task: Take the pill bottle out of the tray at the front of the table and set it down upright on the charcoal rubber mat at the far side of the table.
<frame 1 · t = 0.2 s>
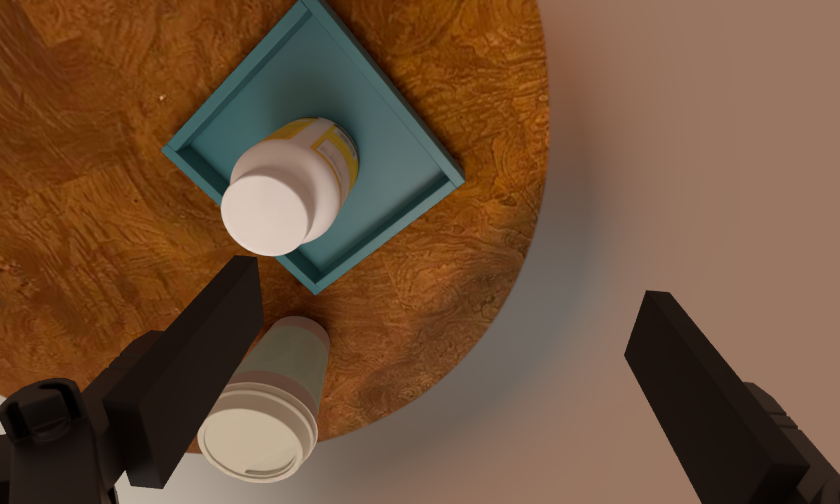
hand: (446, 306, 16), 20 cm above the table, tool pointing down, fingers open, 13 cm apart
coffee cup: (300, 339, 43), on the table
pill bottle: (320, 157, 34), resting on tray
tray: (320, 157, 34), on the table
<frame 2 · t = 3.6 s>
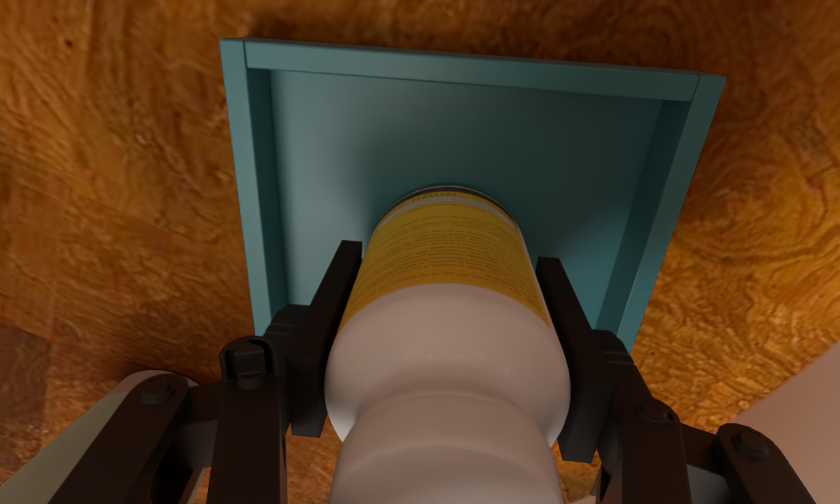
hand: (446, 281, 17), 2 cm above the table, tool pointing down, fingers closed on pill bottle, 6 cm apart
coffee cup: (172, 407, 25), on the table
pill bottle: (446, 251, 19), resting on tray, touching gripper
tray: (446, 252, 19), on the table
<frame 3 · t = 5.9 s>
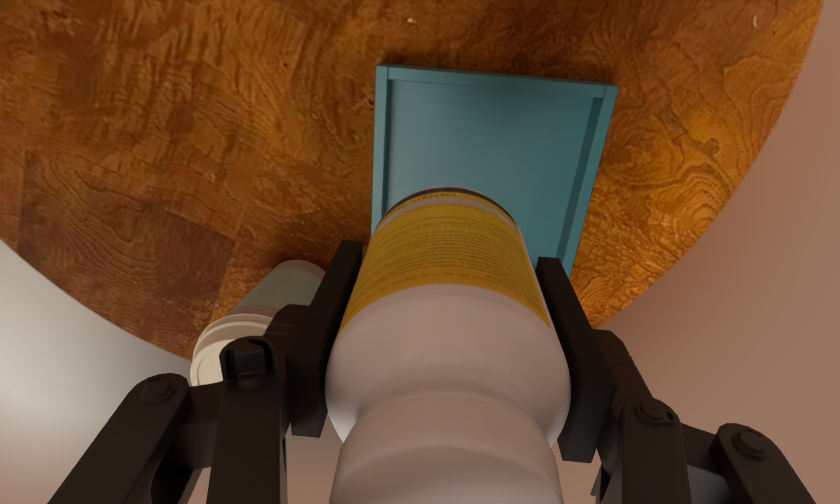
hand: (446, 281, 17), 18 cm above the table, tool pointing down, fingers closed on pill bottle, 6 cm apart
coffee cup: (302, 287, 40), on the table
pill bottle: (447, 252, 19), point 16 cm above the table, touching gripper
tray: (478, 182, 34), on the table
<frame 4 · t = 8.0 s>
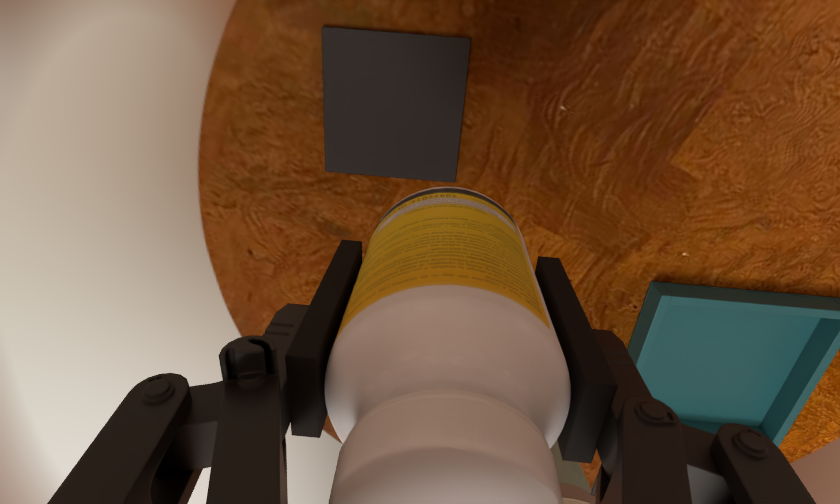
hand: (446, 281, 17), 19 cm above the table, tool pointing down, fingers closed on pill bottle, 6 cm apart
mat: (393, 108, 33), on the table
coffee cup: (534, 431, 47), on the table
pill bottle: (446, 252, 19), point 17 cm above the table, touching gripper
tray: (711, 362, 41), on the table
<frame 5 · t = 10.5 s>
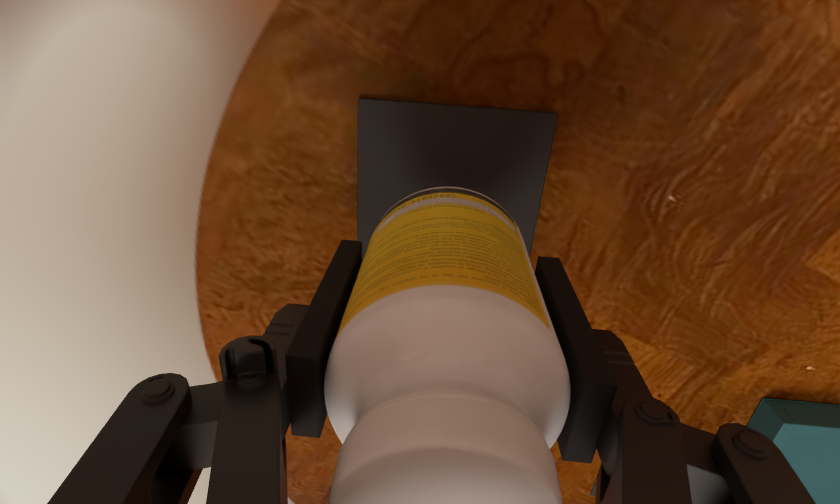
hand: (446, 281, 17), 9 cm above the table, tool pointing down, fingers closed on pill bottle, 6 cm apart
mat: (448, 198, 25), on the table
pill bottle: (446, 252, 19), point 7 cm above the table, touching gripper
tray: (826, 485, 34), on the table
when the fingers open (3 cm above the table, at t = 12.4 s): pill bottle stays where it is, resting on mat.
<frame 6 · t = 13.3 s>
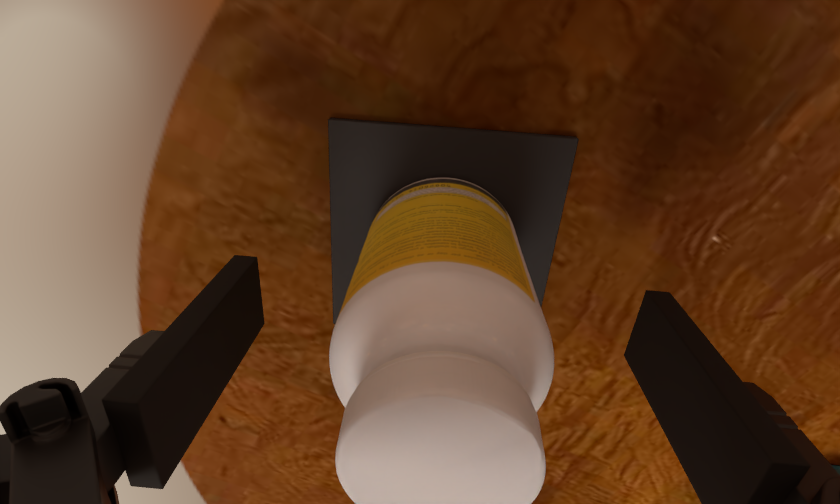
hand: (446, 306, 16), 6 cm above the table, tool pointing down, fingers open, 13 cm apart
mat: (441, 238, 21), on the table
pill bottle: (442, 241, 20), resting on mat
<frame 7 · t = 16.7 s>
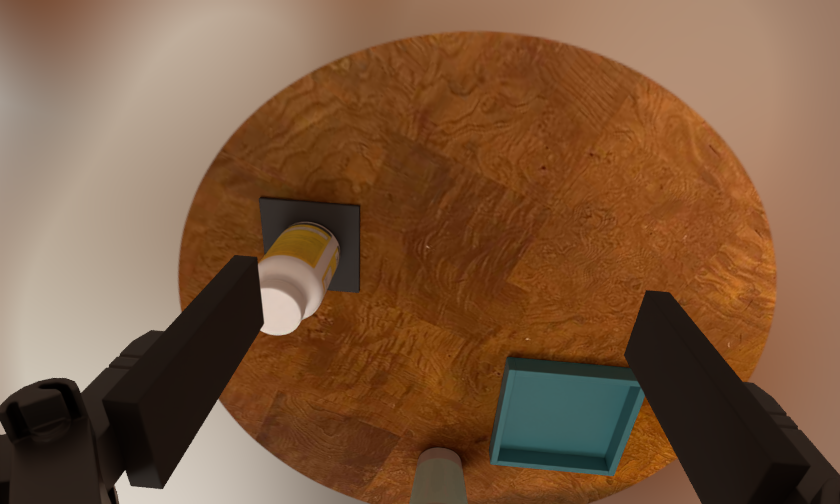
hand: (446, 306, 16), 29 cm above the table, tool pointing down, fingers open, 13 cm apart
mat: (312, 246, 47), on the table
coffee cup: (439, 460, 61), on the table
pill bottle: (311, 247, 47), resting on mat
tray: (560, 412, 56), on the table
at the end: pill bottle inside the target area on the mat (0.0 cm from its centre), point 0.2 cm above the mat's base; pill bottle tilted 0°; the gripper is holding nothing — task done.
